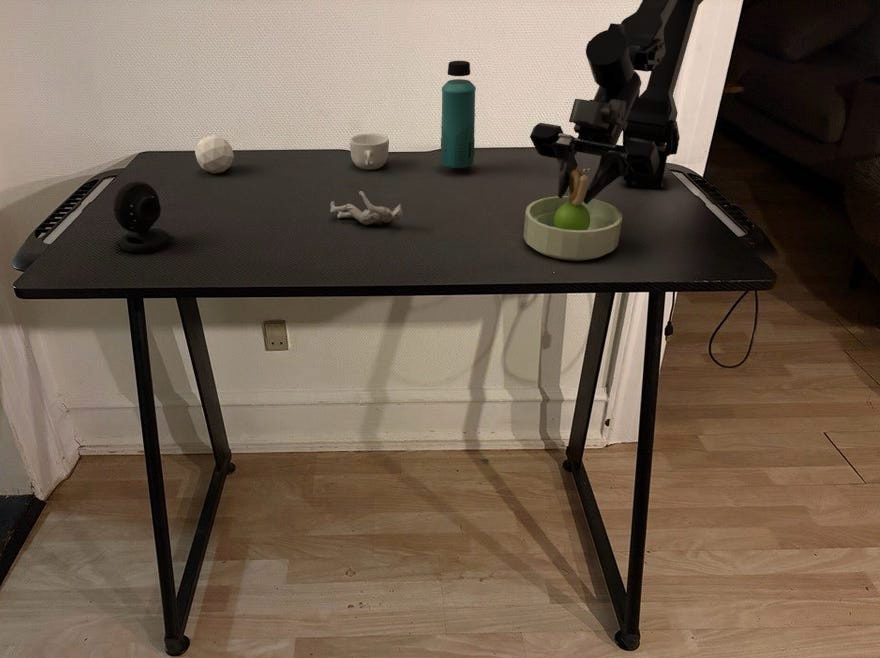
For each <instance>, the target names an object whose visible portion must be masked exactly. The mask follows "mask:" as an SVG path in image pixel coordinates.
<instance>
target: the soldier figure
mask: <svg viewBox="0 0 880 658" xmlns="http://www.w3.org/2000/svg"><path fill="white" fill-rule="evenodd" d="M358 194H359V195H360V196H361V198H362V199H363V202H364V205H366V207H367V209H364V210H363V211H361V209H359V208H358V207H356V206H355V205H354V204H351V203H347V204H344V205H340V206H336V205H335V201H333V200H332V201H331V202H330V214H334V213H338V214H337V219H342V218H355V220H357V221H358V222H359V223H360V224H363V225H365V226H367V225H372V224H373V223H377V222H383V223H384V224H387V223H389V222H391V221H392V220H397V221H398V223H399V224H400V222H401V220H402V219H403V208H402V205H401V203H399V204H398V205H397V206H396V207H394V208H393V211H392V209H390V208H389V207H385V206H377V205H373V204H372V203H371V202H370V200H369V199H368V198H367V196H366V194H365V193H364V191H362V190H360V191H359V192H358Z"/></svg>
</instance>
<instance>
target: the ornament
mask: <svg viewBox="0 0 880 658" xmlns="http://www.w3.org/2000/svg"><path fill="white" fill-rule="evenodd" d="M194 154H195V157H196V163H198V164H199V166H200V168H201V169H202V170H204V171H207V172H209V173H211V174H213V175H214V174H219V173H224V172H225V171H226V170H228V169H229V168H230V167H231V165H232V163H233V161H234V158H235V155H234V151H233V146H232V145H231V144H230V142H229V141H228V140H227V139H226V138H224V137H222V136H220V135H218V134H211V135H209V133H206V132H205V134H204V136H203V138H201V139H200V140H199V141H198V143H197V145H196V148H195V150H194Z"/></svg>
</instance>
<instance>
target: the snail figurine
mask: <svg viewBox="0 0 880 658" xmlns="http://www.w3.org/2000/svg"><path fill="white" fill-rule="evenodd" d="M586 172H587V173H588V174H585V173H586ZM590 172H592V168H590V167H588V168H583V169H582V172H581V171H580V170H579V169H576V170H573V171H572V172H571V174H570V176H569V186H568V189H569V190H568V192H567V196H568V199H569V201H570V202H568V203H566V204H564V205H562V206H561V207H560V208H559V209H558V210H557V212H556V213H555V216H554V225H555V228H560V229H566V230H578V231H580V230H587V229H588V227H589V225H590V214H589V211H588V210H587V208H586V207H585V206H584V205H582V203H583V200H584V198H585V195H586V192H587V189H588V184H589V182H590V178H589V177H590Z"/></svg>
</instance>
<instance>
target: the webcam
mask: <svg viewBox="0 0 880 658" xmlns="http://www.w3.org/2000/svg"><path fill="white" fill-rule="evenodd" d="M161 211H162V207H161V204H160V199H159V195H158V193H157V191H156V190H155V189H154V188H153V186H152V185H150V184H149V183H147V182H144V181H135V180H134V181H131V182H128V183H125V184H124V185H123V186H122V187H120V189H118V191H117V193H116V195H115V196H114V201H113V214H114V217H115V219H116V221H117V223H118V224H119V226H120V227H121V228H123V229H124V230H126V231H128V232H127V233H125V234H123V235H122V236H121V238H120V239H119V243H118V244H119V247H120V248H121V249H122V250H123V251H125V252H128V253H132V254H146V253H152V252H156V251H160V250H161V249H163V248H164V247H166V246H167V245H168V244H169V242H170V235H169V233H168V232H167V231H166V230H164V229H162V228H158V227H157V228H156V227H153V226H154V224H155V223H156V222H157V221H158V219H159V218H160V216H161ZM135 240H136V241H137V240H140V241H142V242H143V243H133V241H135Z"/></svg>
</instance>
